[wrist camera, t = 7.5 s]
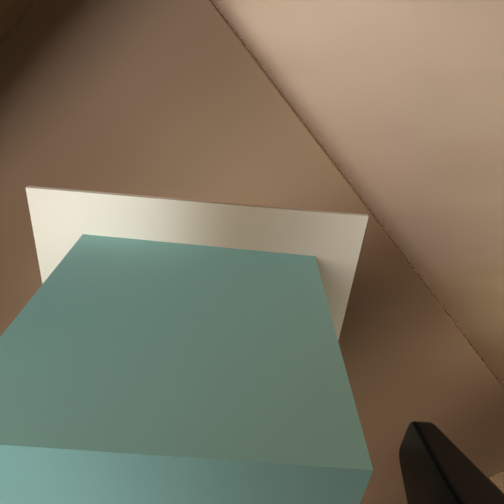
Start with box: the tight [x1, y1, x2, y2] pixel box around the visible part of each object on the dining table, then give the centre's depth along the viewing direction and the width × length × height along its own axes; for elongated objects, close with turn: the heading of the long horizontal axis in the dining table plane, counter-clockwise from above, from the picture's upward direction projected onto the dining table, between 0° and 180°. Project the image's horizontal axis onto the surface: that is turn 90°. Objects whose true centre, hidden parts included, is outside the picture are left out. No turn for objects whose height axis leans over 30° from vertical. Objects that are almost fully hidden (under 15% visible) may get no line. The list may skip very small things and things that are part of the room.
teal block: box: [0, 234, 373, 504], centre depth 8 cm, size 5×5×5 cm
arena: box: [0, 0, 504, 504], centre depth 11 cm, size 18×18×3 cm
